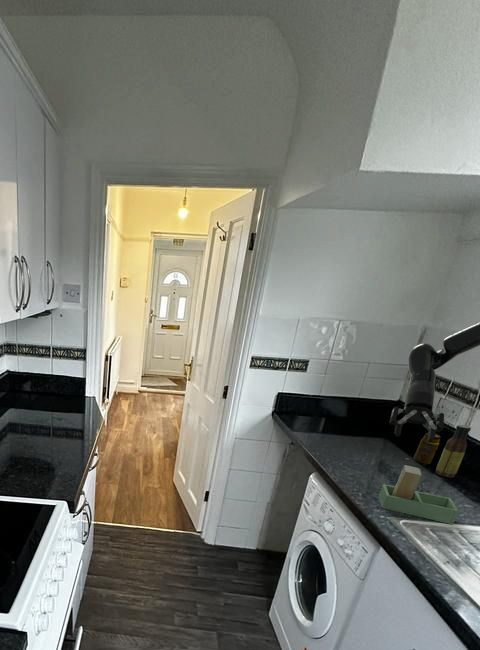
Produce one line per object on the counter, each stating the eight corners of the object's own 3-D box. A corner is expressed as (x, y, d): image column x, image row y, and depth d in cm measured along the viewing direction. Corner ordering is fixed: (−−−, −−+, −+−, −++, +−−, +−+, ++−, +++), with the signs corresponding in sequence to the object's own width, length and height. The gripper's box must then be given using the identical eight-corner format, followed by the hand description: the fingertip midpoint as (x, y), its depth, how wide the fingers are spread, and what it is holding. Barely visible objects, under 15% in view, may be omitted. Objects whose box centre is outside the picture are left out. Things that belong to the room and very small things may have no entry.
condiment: (435, 464, 171) (447, 437, 166) (422, 466, 167) (435, 439, 162) (416, 457, 177) (428, 430, 171) (404, 459, 173) (415, 432, 168)
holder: (445, 510, 133) (450, 498, 131) (452, 524, 125) (459, 511, 123) (378, 496, 140) (383, 484, 138) (381, 508, 132) (386, 495, 130)
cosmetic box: (389, 497, 137) (403, 464, 132) (405, 501, 135) (420, 467, 130) (390, 505, 132) (405, 471, 127) (406, 509, 130) (422, 475, 125)
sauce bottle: (456, 476, 160) (480, 428, 151) (450, 479, 156) (474, 430, 148) (436, 469, 165) (458, 422, 156) (430, 473, 161) (452, 425, 153)
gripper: (398, 387, 139) (392, 428, 134) (450, 394, 134) (445, 437, 129) (391, 399, 146) (384, 439, 141) (440, 406, 140) (435, 448, 135)
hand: (413, 438), depth 135 cm, fingers open, 8 cm apart
